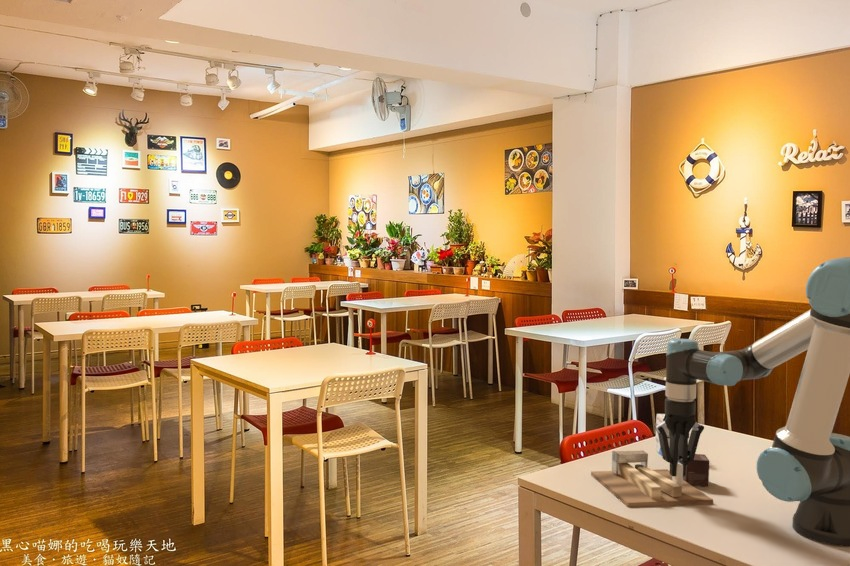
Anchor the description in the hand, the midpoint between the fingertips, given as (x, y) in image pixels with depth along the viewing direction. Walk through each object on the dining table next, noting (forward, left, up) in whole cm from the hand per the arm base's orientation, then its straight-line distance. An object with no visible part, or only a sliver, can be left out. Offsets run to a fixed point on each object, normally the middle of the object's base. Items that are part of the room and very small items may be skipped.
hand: (677, 487), depth 184 cm
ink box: (+36, -16, -3) cm, 39 cm away
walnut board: (+6, +5, -2) cm, 8 cm away
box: (+10, -11, -3) cm, 15 cm away
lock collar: (+16, +6, -1) cm, 17 cm away
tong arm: (+5, +3, -1) cm, 6 cm away
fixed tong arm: (+7, +8, -2) cm, 11 cm away
